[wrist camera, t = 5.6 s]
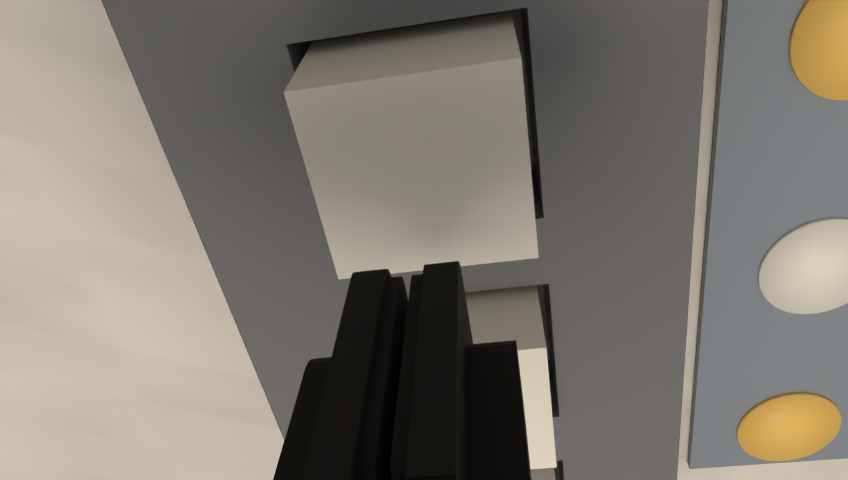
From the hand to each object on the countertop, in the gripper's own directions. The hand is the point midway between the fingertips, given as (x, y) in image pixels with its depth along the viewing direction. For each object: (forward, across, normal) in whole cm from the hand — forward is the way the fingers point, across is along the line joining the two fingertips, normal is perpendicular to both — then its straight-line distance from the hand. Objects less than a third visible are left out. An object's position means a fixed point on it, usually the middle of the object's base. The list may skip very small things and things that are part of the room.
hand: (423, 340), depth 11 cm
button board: (+9, 0, +6) cm, 11 cm away
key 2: (+7, 0, -1) cm, 7 cm away
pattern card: (+9, -10, +6) cm, 15 cm away
